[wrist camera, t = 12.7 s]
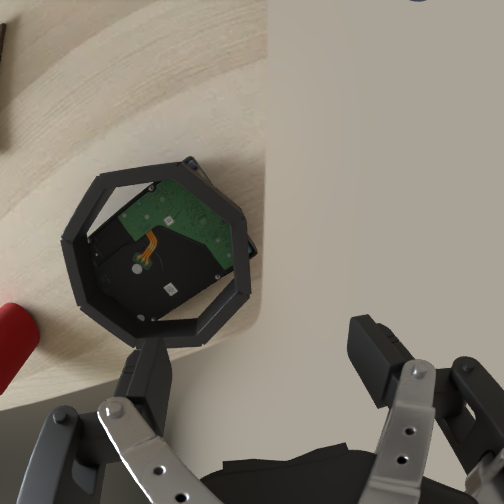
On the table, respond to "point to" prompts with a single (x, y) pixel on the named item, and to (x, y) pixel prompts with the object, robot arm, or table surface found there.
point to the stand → (2, 36)
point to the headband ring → (112, 312)
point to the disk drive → (161, 249)
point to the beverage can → (15, 341)
